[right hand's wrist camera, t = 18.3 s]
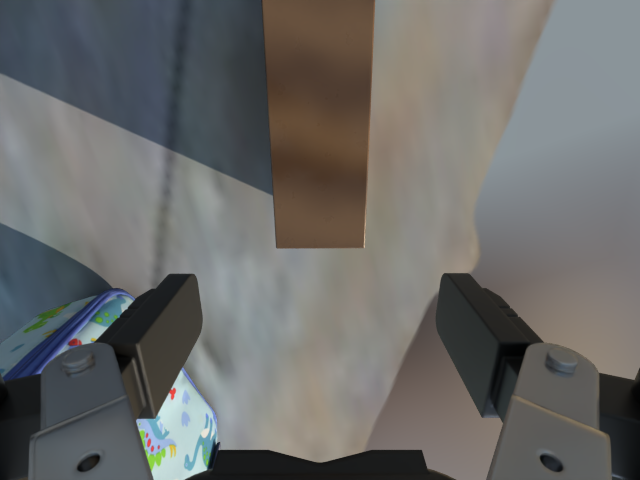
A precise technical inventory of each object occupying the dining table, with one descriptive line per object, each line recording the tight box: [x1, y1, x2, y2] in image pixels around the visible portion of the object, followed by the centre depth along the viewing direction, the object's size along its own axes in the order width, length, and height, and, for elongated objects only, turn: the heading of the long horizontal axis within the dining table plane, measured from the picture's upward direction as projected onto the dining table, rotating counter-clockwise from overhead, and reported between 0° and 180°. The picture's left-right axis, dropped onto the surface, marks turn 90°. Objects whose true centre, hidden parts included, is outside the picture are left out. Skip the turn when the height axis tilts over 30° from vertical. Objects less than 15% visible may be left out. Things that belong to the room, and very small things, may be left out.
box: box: [261, 0, 375, 248], centre depth 25 cm, size 21×6×12 cm, turn 0°
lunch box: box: [0, 288, 221, 480], centre depth 32 cm, size 26×11×21 cm, turn 18°
